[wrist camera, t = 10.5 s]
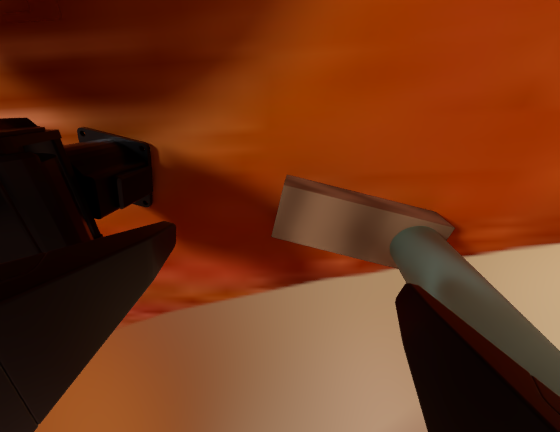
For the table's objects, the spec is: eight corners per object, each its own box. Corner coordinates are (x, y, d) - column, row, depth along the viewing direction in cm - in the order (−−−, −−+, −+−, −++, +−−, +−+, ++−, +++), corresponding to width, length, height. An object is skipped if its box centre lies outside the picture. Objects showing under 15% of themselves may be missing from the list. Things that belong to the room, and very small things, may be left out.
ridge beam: (275, 221, 23) (271, 236, 20) (287, 174, 20) (283, 185, 18) (409, 255, 23) (422, 274, 20) (435, 211, 20) (455, 228, 18)
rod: (379, 248, 19) (489, 463, 8) (419, 216, 18) (637, 430, 6) (410, 272, 20) (553, 503, 8) (451, 245, 18) (700, 483, 7)
